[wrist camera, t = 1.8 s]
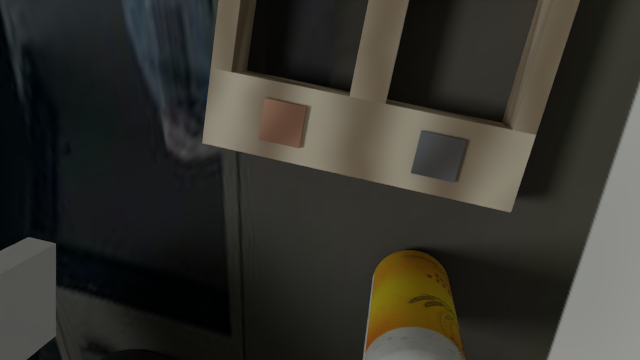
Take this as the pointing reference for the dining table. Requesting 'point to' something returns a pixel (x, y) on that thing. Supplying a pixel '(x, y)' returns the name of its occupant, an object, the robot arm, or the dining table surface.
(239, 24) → the socket board
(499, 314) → the dining table surface
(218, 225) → the dining table surface
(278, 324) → the dining table surface
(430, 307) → the beer can
